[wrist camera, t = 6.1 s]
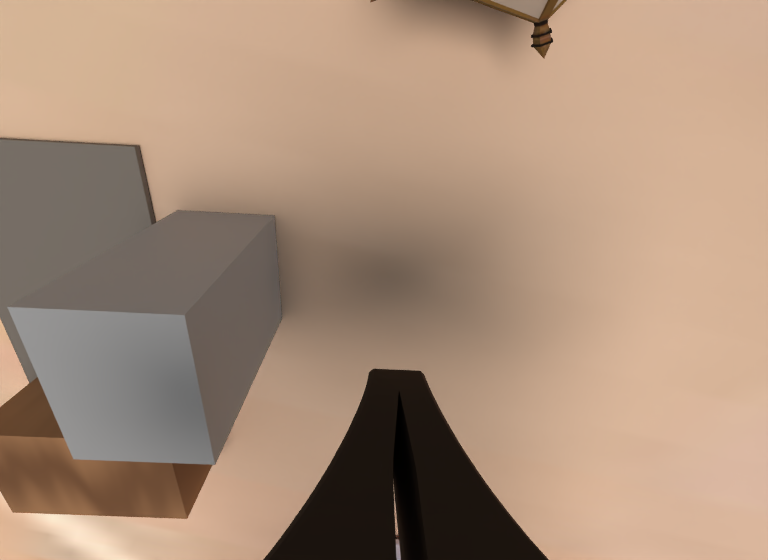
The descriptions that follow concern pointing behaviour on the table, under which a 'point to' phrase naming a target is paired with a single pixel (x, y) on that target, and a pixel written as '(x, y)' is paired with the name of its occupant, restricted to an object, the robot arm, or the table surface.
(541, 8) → the grey faceted ornament
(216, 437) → the slate block
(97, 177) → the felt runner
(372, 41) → the table surface
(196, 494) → the walnut block
